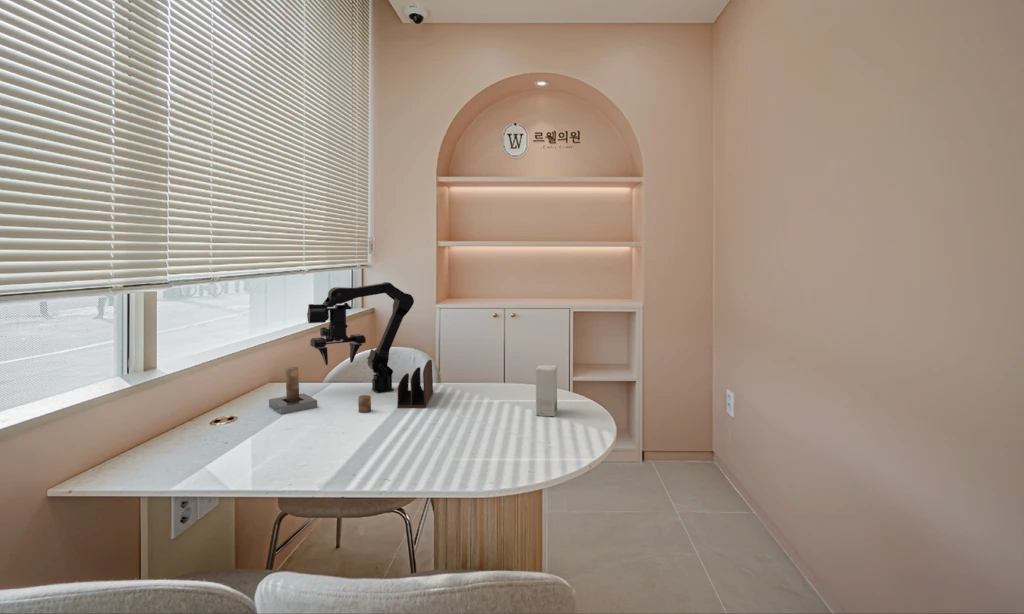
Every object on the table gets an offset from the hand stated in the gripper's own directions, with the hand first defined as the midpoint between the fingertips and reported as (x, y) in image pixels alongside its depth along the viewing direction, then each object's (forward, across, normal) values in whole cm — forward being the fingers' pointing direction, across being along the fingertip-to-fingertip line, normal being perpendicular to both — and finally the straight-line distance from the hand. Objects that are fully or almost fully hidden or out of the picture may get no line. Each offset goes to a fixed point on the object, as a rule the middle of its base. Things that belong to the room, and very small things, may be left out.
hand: (339, 363), depth 193 cm
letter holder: (+12, -20, +22) cm, 32 cm away
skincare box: (+12, -48, +62) cm, 79 cm away
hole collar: (+12, +18, +5) cm, 22 cm away
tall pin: (+12, +18, +5) cm, 22 cm away
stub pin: (+12, 0, +24) cm, 27 cm away
